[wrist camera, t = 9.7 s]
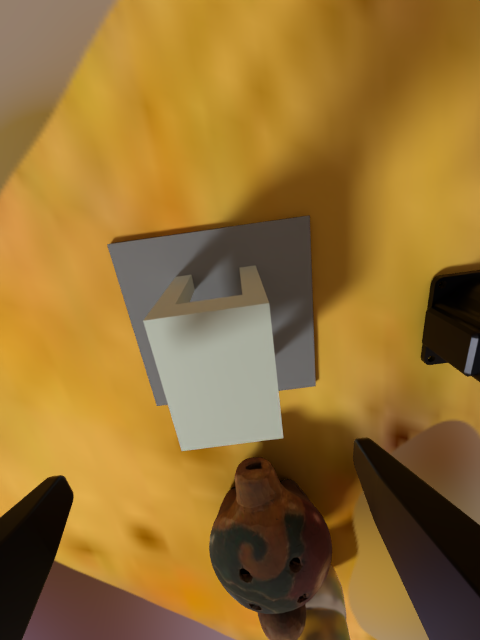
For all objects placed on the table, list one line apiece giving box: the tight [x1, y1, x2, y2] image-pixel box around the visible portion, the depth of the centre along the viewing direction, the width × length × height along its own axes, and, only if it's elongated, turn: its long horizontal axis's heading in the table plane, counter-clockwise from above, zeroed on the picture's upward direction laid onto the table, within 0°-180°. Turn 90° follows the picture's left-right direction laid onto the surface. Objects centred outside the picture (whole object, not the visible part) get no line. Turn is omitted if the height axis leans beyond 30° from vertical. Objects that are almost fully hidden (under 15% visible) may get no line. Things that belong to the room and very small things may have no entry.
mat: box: [108, 216, 316, 406], centre depth 19 cm, size 12×12×1 cm
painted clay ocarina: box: [209, 457, 332, 640], centre depth 23 cm, size 10×15×8 cm, turn 16°
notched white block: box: [143, 265, 283, 451], centre depth 16 cm, size 7×5×7 cm
